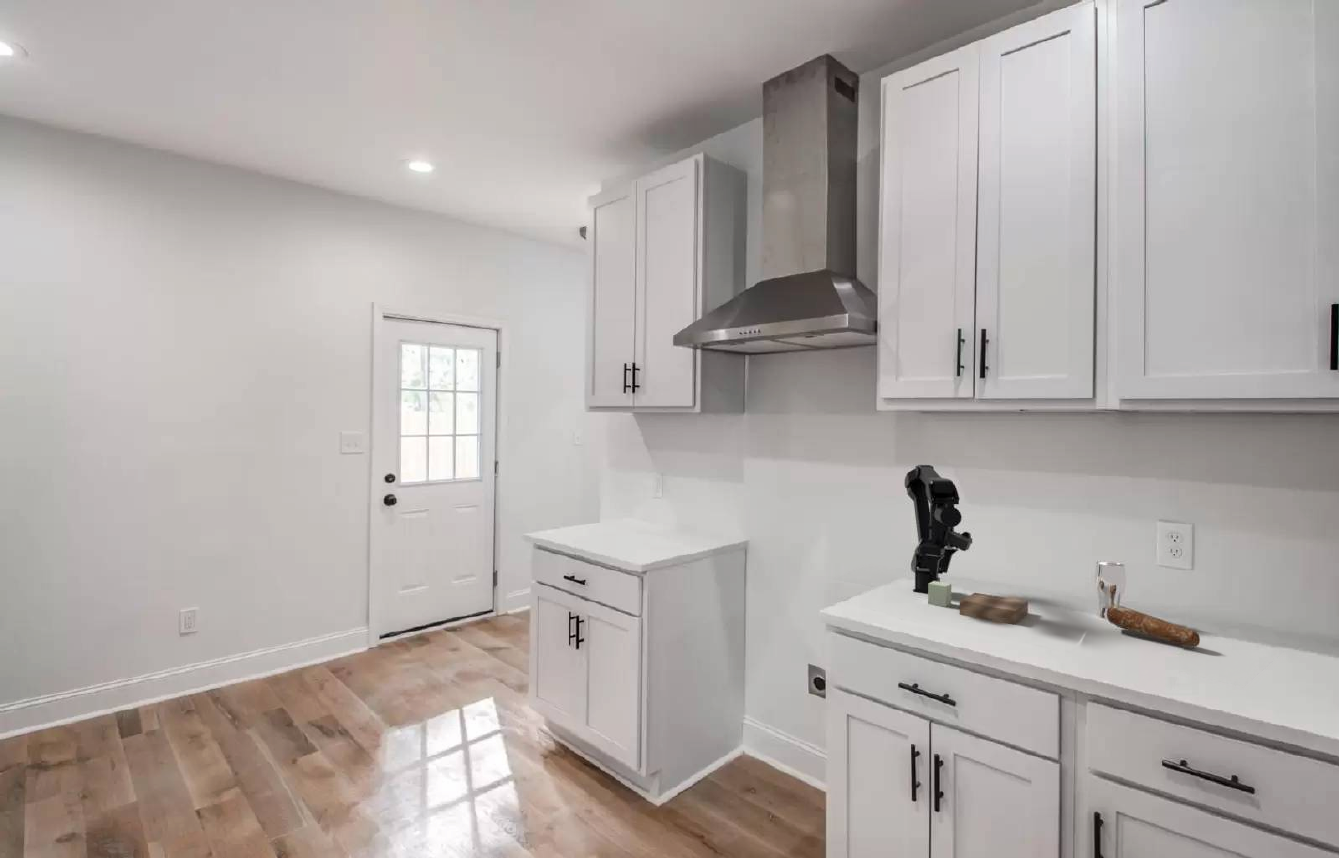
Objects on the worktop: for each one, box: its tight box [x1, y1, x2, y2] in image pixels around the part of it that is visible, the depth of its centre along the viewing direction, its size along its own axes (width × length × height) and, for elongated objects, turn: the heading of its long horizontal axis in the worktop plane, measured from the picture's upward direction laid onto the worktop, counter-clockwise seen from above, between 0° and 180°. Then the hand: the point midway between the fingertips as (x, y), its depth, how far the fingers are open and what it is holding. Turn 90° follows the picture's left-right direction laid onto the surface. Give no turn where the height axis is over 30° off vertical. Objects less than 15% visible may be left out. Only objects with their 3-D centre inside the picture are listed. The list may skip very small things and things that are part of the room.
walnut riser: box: [959, 592, 1029, 625], centre depth 181 cm, size 14×14×4 cm
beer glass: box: [1094, 561, 1127, 621], centre depth 178 cm, size 7×7×15 cm
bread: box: [1107, 604, 1201, 647], centre depth 160 cm, size 6×19×6 cm, turn 33°
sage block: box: [927, 581, 952, 608], centre depth 192 cm, size 5×5×6 cm
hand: (939, 575), depth 192 cm, fingers open, 9 cm apart
